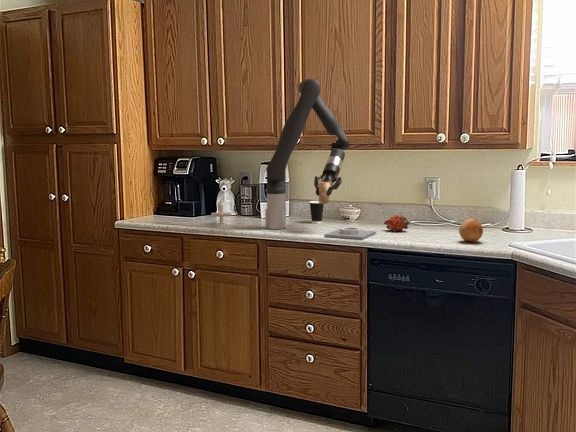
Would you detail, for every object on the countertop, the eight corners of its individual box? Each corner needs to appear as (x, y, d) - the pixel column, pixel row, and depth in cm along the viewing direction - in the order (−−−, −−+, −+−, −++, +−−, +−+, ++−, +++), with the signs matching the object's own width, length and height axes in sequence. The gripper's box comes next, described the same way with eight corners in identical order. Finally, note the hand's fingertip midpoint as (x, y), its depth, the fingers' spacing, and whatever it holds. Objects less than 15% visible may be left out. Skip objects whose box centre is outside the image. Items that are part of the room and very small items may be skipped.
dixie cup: (306, 222, 316) (306, 201, 315) (319, 221, 320) (319, 200, 319) (314, 224, 309) (314, 202, 308) (327, 222, 313) (327, 202, 312)
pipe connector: (231, 222, 317) (231, 203, 316) (230, 225, 308) (230, 205, 306) (212, 222, 317) (212, 203, 316) (210, 225, 307) (210, 206, 306)
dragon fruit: (410, 235, 282) (385, 237, 287) (412, 223, 288) (388, 225, 293) (405, 222, 277) (380, 224, 282) (408, 210, 283) (383, 212, 288)
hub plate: (324, 237, 270) (324, 230, 269) (339, 231, 285) (339, 224, 285) (362, 240, 261) (362, 232, 261) (376, 233, 277) (376, 227, 277)
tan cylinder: (317, 203, 281) (317, 181, 280) (321, 202, 285) (321, 180, 284) (326, 203, 279) (326, 181, 277) (330, 202, 283) (330, 180, 282)
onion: (454, 242, 255) (454, 218, 254) (465, 239, 262) (466, 216, 261) (475, 244, 248) (476, 220, 247) (486, 241, 255) (487, 218, 254)
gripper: (316, 162, 289) (306, 189, 280) (344, 162, 283) (334, 190, 274) (321, 172, 295) (310, 199, 286) (348, 173, 288) (338, 200, 279)
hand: (322, 194), depth 280 cm, fingers closed on tan cylinder, 4 cm apart
